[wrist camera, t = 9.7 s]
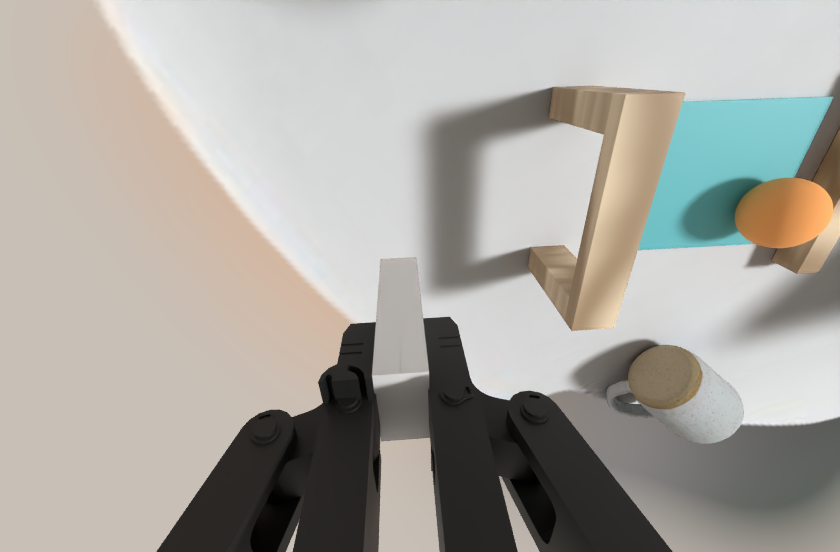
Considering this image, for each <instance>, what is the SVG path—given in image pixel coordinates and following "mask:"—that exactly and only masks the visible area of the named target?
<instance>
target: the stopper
mask: <svg viewBox="0 0 840 552" xmlns="http://www.w3.org/2000/svg"><path fill="white" fill-rule="evenodd" d="M812 182H814V183H816V184H818V185H819V186H821V187H822V188H824V189H825V191H826V192H827V193H828V194H829V196H830V197H831V200H832V202H833V215H832V218H831V221H830V222H829V224H828V226H827V227H826V228H825V229H824V230H823V231H822V232H821V233H820V234H819V235H818V236H816V237H815V238H813V239H812V240H810V241H808V242H806V243H803V244H800V245H797V246H793V247H788V248H778V249H777V250H776V252H775V254H774V256H773V258H772V260H771V261H773V262H775V263H777V264H779V265H781V266H783V267H785V268H787V269H789V270H791V271H793V272H795V273H797V274H799V273H816V272H819V270H820V269H821V267H822V265H823V264H824V262H825V260H826V259H827V257H828V255H829V254H830V252H831V250H832V249H833V247H834V245H835V244H836V242H837V240H838V239H839V237H840V128H839V130H838V132H837V134H836V136H835V138H834V140H833V142H832V144H831V146H830V148H829V150H828V152H827V154H826V156H825V157H824V159H823V161H822V163H821V165H820V167H819V169H818V171H817V173H816V175H815V177H814V179H813V181H812Z"/></svg>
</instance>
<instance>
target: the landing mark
mask: <svg viewBox="0 0 840 552" xmlns="http://www.w3.org/2000/svg"><path fill="white" fill-rule="evenodd" d="M833 98H834V97H806V98H778V99H750V100H722V101H694V102H683V103H682V106H681V109H680V112H679V116H678V119H677V122H676V126H675V129H674V132H673V136H672V139H671V142H670V145H669V149H668V152H667V155H666V159H665V162H664V165H663V168H662V172H661V175H660V178H659V182H658V185H657V188H656V192H655V195H654V198H653V201H652V205H651V208H650V211H649V215H648V218H647V221H646V225H645V228H644V231H643V234H642V238H641V241H640V244H639V248H638V250H650V249H669V248H687V247H706V246H724V245H743V244H754V243H752V242H750V241H749V240H747V239H746V238H745V237H743V236H742V234H741V233H740V232H739V230H738V229H737V227H736V224H735V211H736V207H737V205H738V203H739V202H740V200H741V199H742V198H743V197H744V195H745V194H746V193H748V192H749V191H750V190H751V189H753V188H754V187H756V186H758V185H760V184H762V183H764V182H767V181H770V180H774V179H779V178H795V176H796V174H797V172H798V169H799V167H800V165H801V163H802V161H803V159H804V157H805V155H806V153H807V151H808V149H809V147H810V145H811V143H812V141H813V139H814V137H815V135H816V133H817V131H818V129H819V127H820V124H821V122H822V120H823V118H824V116H825V114H826V112H827V110H828V108H829V106H830V104H831V102H832V100H833Z"/></svg>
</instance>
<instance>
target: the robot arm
mask: <svg viewBox="0 0 840 552" xmlns="http://www.w3.org/2000/svg"><path fill="white" fill-rule="evenodd" d="M318 383H319V387H320V392H321V396H322V400H323V403H322V404H321V405H320V406H318V407H317V408H315V409H313V410H311V411H309V412H306V413H303V414H300V415H297V416H295V417H291V416H290V415H289V414H288V413H287V412H284V411H282V410H269V411H265V412H262V413H259V414H258V415H256V416H255V417H253V418H251V419H250V420H249V421H248V422H247V423H246V424H245V425H244V426H243V427H242V429H241V430H240V432H239V433H238V435H237V436H236V437H235V439H234V440H233V442H232V443H231V445H230V446H229V448H228V449H227V450H226V452H225V454H224V455H223V456H222V458H221V459H220V461H219V462H218V464H217V465H216V467H215V468H214V469H213V471H212V472H211V474H210V475H209V477H208V478H207V480H206V481H205V482H204V484H203V485H202V487H201V488H200V490H199V491H198V492H197V494H196V495H195V497H194V498H193V500H192V501H191V503H190V504H189V505H188V507H187V508H186V510H185V511H184V513H183V514H182V516H181V517H180V518H179V520H178V521H177V523H176V524H175V526H174V527H173V529H172V530H171V531H170V533H169V535H168V536H167V537H166V539H165V540H164V542H163V543H162V544H161V546H160V548H159V549H158V550H157V552H286V550H287V547H288V545H289V543H290V540H291V538H292V536H293V533H294V531H295V528H296V526H297V524H298V522H299V525H298V529H297V534H296V539H295V544H294V548H293V552H378V545H379V512H380V482H381V481H380V480H381V454H380V438H381V441H391V440H405V439H418V438H430V441H431V471H433V482H434V494H435V505H436V516H437V526H438V537H439V549H440V552H518V551H517V548H516V543H515V539H514V535H513V531H512V527H511V523H510V519H509V515H508V512H507V507H506V503H505V500H504V496H503V491H502V487H501V484H500V479H499V476H501V477H502V478H503V481H504V482H505V485H506V487H507V489H508V491H509V492H510V494H511V496H512V498H513V500H514V502H515V504H516V506H517V508H518V510H519V512H520V514H521V516H522V518H523V520H524V522H525V524H526V526H527V528H528V530H529V531H530V534H531V536H532V537H533V539H534V541H535V543H536V545H537V547H538V549H539V551H540V552H672V550H671V549H670V548H669V547H668V545H667V544H666V543H665V542H664V540H663V539H662V538H661V537H660V535H659V534H658V533H657V531H656V530H655V529H654V528H653V526H652V525H651V524H650V522H649V521H648V520H647V519H646V517H645V516H644V515H643V514H642V513H641V511H640V510H639V509H638V507H637V506H636V505H635V503H634V502H633V501H632V500H631V499H630V497H629V496H628V495H627V493H626V492H625V491H624V490H623V488H622V487H621V486H620V484H619V483H618V482H617V481H616V480H615V478H614V477H613V476H612V474H611V473H610V472H609V470H608V469H607V468H606V467H605V465H604V464H603V463H602V461H601V460H600V459H599V458H598V456H597V455H596V454H595V453H594V451H593V450H592V449H591V448H590V446H589V445H588V444H587V442H586V441H585V440H584V439H583V437H582V436H581V435H580V434H579V432H578V431H577V430H576V429H575V427H574V426H573V425H572V423H571V422H570V421H569V420H568V418H567V417H566V416H565V414H564V413H563V412H562V411H561V409H560V408H559V407H558V406H557V404H556V403H555V402H553V401H552V400H551V399H550V398H549V397H547V396H545V395H543V394H541V393H538V392H533V391H523V392H519V393H517V394H515V395H513V397H512V398H511V399H510V401H509V400H504V399H499V398H495V397H491V396H488V395H486V394H484V393H482V392H481V391H479V390H478V389H477V388H476V387H475V386H474V384H473V383H472V381H471V379H470V375H469V371H468V367H467V363H466V359H465V355H464V350H463V346H462V342H461V338H460V334H459V330H458V326H457V324H456V323H455V322H454V321H453V320H452V319H451V318H450V317H440V318H423V313H422V304H421V295H420V286H419V277H418V268H417V259H416V257H414V258H396V259H381V261H380V274H379V288H378V301H377V315H376V322H373V323H357V324H350V326H349V327H348V328H347V329H346V331H345V332H344V333H343V338H342V343H341V348H340V355H339V358H338V363H337V365H335V366H332V367H330V368H328V370H326V371H325V372H324V373H323V374H322V375H321V377H320V379H319V382H318ZM299 519H300V520H299Z"/></svg>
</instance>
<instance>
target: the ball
mask: <svg viewBox="0 0 840 552" xmlns="http://www.w3.org/2000/svg"><path fill="white" fill-rule="evenodd" d="M832 215H833V202H832V200H831V197H830V196H829V194H828V193H827V192H826V191H825V189H824V188H822V187H821V186H819V185H818V184H816V183H814V182H811V181H809V180H805V179H800V178H779V179H774V180H770V181H767V182H764V183H762V184H760V185H758V186H756V187H754V188H753V189H751V190H750V191H749V192H748V193H746V194H745V195H744V197H743V198H742V199H741V200H740V202H739V203H738V205H737V207H736V211H735V224H736V227H737V229H738V230H739V232H740V233H741V234H742V236H743V237H745V238H746V239H747V240H749V241H750V242H752V243H754V244H757V245H760V246H763V247H768V248H788V247H793V246H797V245H800V244H803V243H806V242H808V241H810V240H812V239H813V238H815V237H816V236H818V235H819V234H820V233H821V232H822V231H823V230H824V229H825V228H826V227H827V226H828V224H829V222H830V221H831V218H832Z"/></svg>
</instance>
